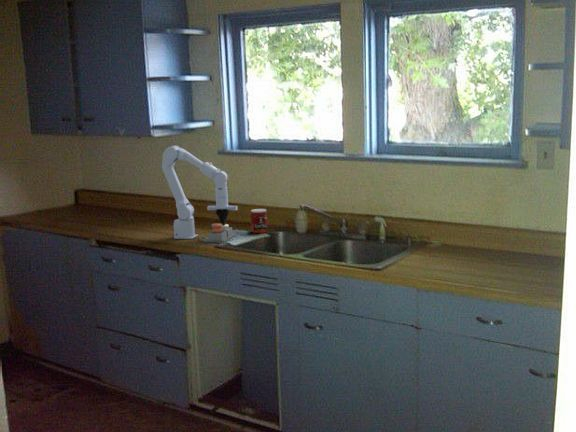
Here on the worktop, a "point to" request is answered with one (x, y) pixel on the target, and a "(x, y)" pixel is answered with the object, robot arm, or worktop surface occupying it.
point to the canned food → (259, 220)
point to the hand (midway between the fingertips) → (223, 225)
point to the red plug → (217, 228)
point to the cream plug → (225, 227)
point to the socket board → (221, 236)
